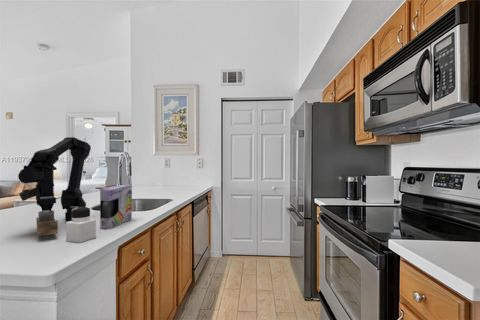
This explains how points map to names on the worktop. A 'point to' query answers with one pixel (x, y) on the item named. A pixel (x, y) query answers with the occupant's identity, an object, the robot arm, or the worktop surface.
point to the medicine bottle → (80, 226)
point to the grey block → (46, 216)
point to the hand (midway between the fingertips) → (45, 218)
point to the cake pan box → (115, 205)
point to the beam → (46, 227)
